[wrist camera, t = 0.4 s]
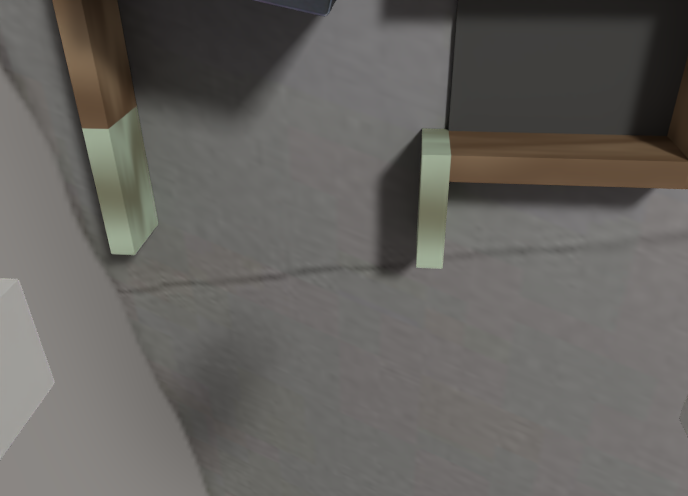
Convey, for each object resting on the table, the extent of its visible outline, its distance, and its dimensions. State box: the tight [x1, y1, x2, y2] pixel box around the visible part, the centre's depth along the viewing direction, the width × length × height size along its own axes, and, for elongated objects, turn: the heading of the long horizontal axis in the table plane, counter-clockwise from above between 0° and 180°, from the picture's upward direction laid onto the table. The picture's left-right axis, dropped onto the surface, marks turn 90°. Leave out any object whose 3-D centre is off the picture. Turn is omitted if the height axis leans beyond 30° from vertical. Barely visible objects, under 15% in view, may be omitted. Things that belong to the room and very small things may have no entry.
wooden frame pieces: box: [52, 0, 688, 269], centre depth 33 cm, size 23×34×4 cm
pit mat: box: [448, 0, 688, 136], centre depth 34 cm, size 9×12×1 cm
